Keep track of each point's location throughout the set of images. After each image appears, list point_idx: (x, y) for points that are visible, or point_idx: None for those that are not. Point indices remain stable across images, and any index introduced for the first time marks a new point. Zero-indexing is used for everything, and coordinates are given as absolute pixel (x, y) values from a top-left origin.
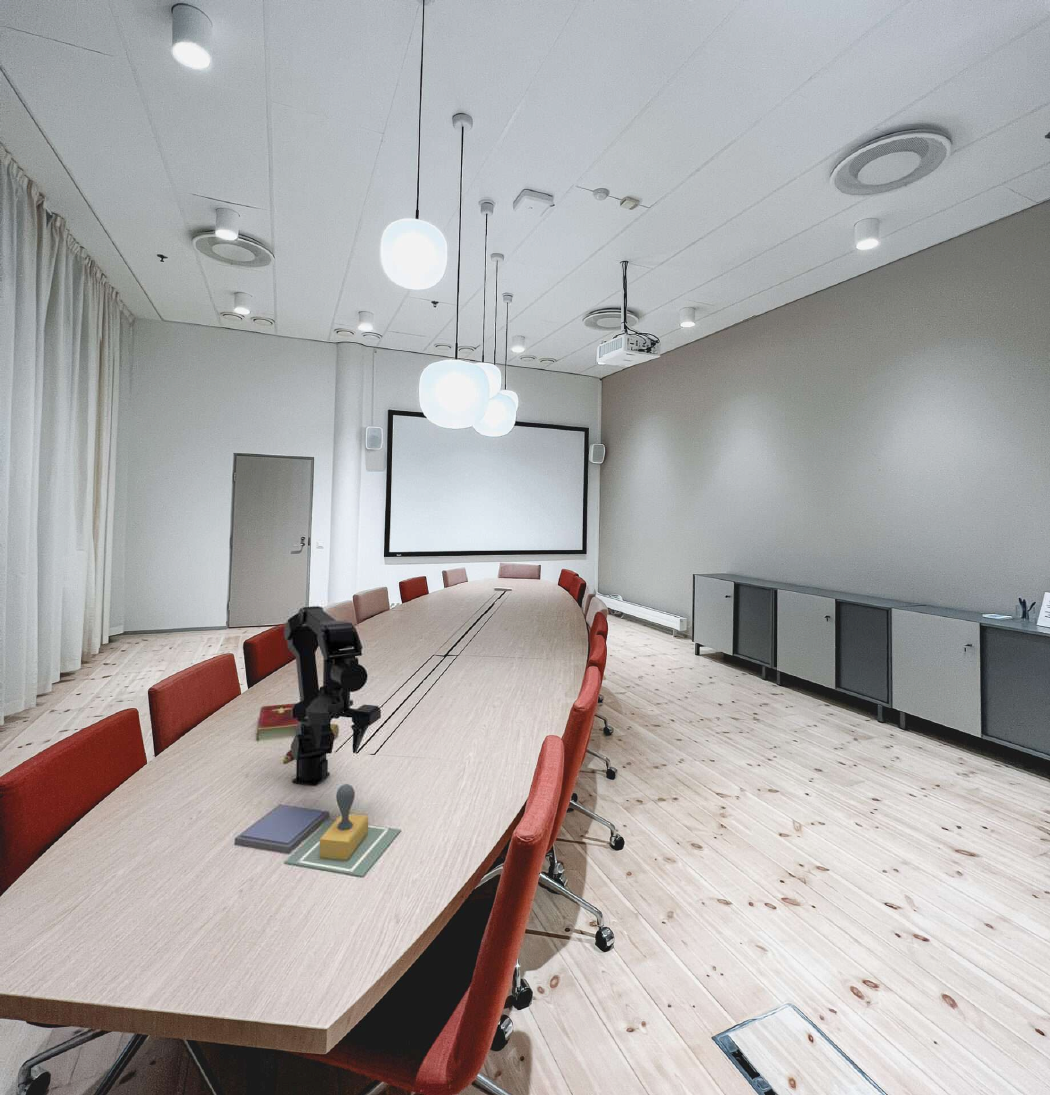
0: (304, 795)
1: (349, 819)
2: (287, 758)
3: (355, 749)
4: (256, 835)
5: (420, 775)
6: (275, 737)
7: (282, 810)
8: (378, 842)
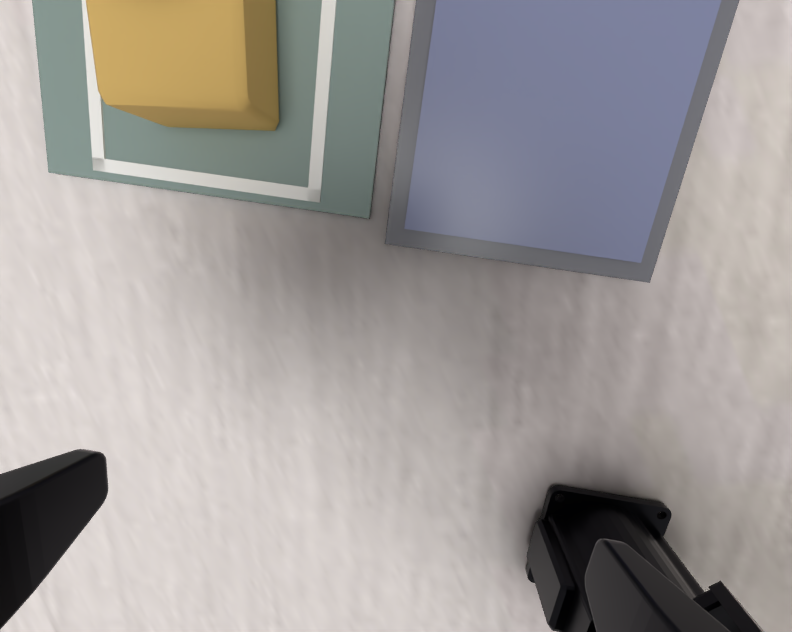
0: (568, 408)
1: (165, 28)
2: None
3: (14, 472)
4: None
5: (181, 584)
6: None
7: (612, 211)
8: (83, 48)
